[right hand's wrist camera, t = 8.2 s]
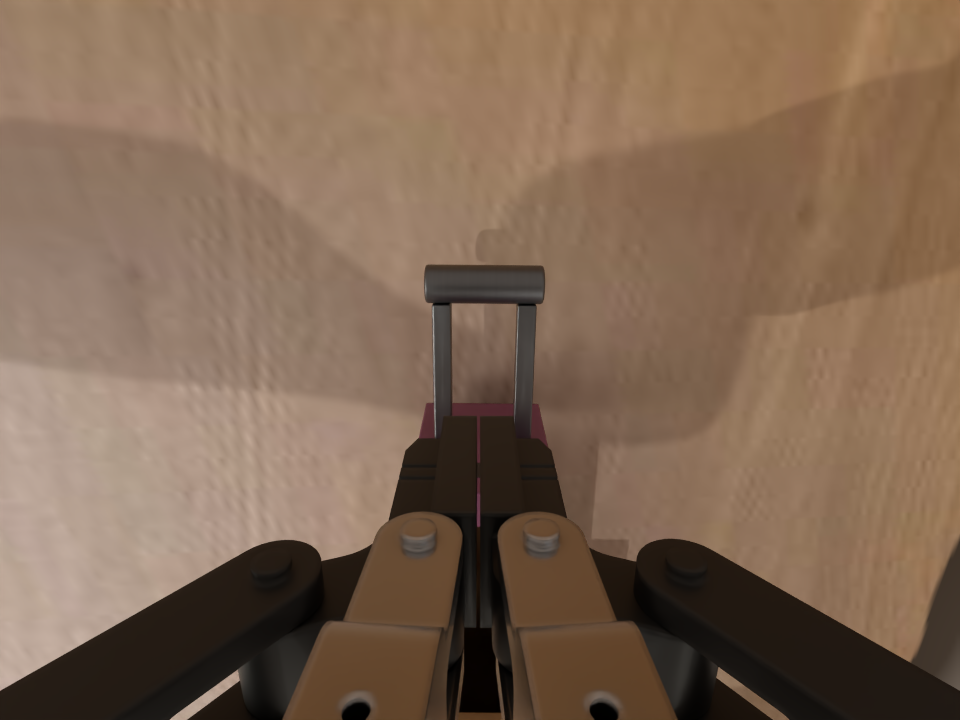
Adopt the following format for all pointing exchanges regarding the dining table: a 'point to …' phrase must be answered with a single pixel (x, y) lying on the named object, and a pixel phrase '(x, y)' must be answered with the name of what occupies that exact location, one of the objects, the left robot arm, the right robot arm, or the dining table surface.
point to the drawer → (483, 413)
